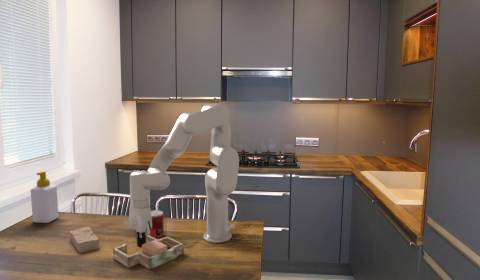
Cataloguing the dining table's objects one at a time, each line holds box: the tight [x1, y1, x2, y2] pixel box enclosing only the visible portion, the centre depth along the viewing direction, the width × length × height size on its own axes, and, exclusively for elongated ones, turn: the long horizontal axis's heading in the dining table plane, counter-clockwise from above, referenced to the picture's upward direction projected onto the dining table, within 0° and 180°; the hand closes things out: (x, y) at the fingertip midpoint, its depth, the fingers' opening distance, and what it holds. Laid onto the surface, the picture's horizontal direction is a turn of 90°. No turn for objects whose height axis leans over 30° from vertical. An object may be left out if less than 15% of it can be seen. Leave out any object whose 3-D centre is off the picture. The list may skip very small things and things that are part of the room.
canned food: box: [147, 209, 165, 240], centre depth 161 cm, size 8×8×11 cm
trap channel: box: [112, 235, 185, 270], centre depth 143 cm, size 22×19×4 cm
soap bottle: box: [30, 170, 60, 224], centre depth 180 cm, size 9×9×25 cm
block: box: [141, 240, 167, 257], centre depth 139 cm, size 6×8×6 cm
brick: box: [69, 226, 100, 253], centre depth 154 cm, size 17×8×5 cm, turn 37°
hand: (141, 245), depth 146 cm, fingers closed
